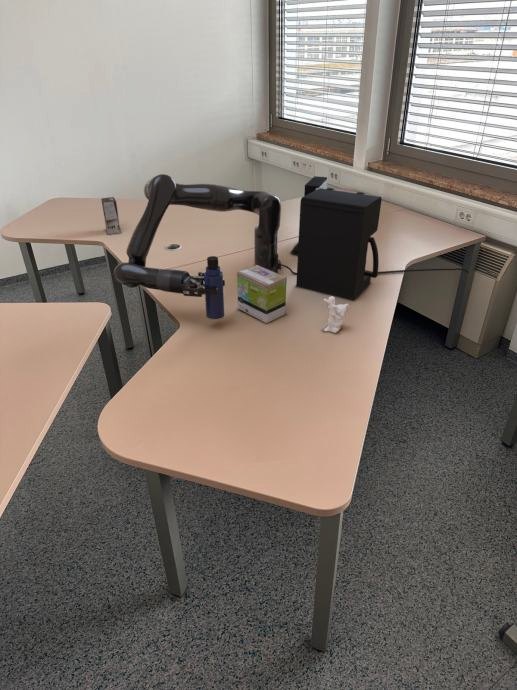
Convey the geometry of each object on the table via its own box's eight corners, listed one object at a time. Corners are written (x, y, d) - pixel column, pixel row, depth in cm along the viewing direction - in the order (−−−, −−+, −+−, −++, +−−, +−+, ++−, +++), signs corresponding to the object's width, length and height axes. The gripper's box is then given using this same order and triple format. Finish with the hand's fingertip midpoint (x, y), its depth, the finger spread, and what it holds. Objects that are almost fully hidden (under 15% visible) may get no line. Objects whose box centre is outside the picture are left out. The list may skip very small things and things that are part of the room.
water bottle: (223, 310, 165) (221, 254, 154) (225, 318, 160) (223, 261, 149) (205, 311, 164) (202, 255, 153) (206, 320, 159) (203, 262, 148)
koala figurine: (321, 334, 160) (323, 301, 153) (320, 324, 165) (323, 292, 159) (346, 335, 159) (350, 302, 153) (345, 325, 165) (349, 293, 158)
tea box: (236, 309, 174) (235, 271, 167) (256, 301, 180) (256, 263, 173) (266, 324, 165) (267, 284, 157) (286, 314, 171) (287, 275, 163)
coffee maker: (380, 284, 193) (393, 195, 175) (363, 303, 179) (376, 208, 161) (316, 270, 205) (322, 186, 187) (295, 286, 191) (300, 197, 173)
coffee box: (121, 233, 246) (116, 201, 237) (108, 234, 243) (102, 202, 235) (118, 227, 253) (114, 196, 244) (105, 229, 251) (100, 197, 242)
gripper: (162, 279, 152) (212, 285, 148) (181, 262, 163) (228, 268, 159) (164, 300, 156) (213, 307, 152) (182, 282, 167) (228, 288, 163)
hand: (220, 287), depth 156 cm, fingers closed on water bottle, 6 cm apart
